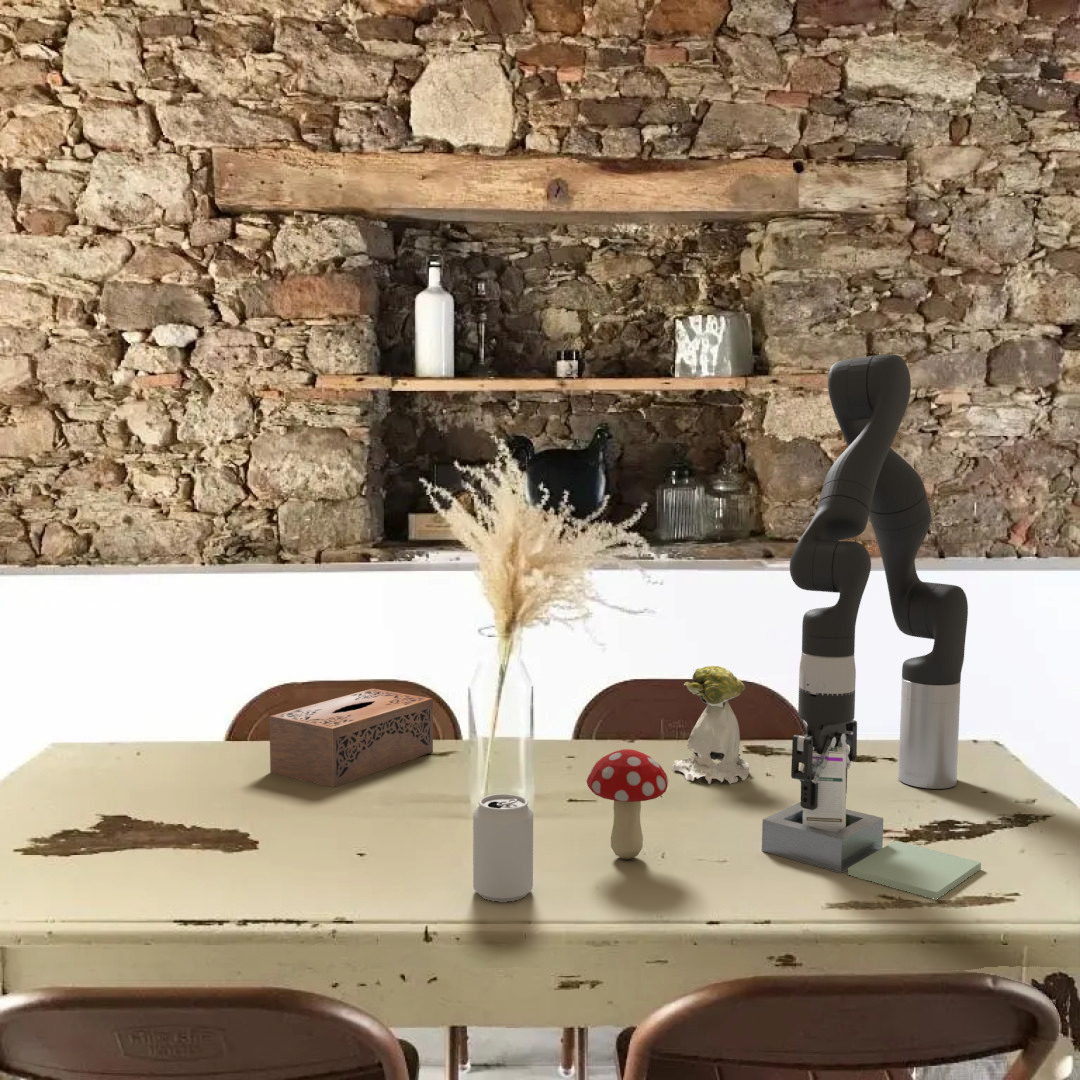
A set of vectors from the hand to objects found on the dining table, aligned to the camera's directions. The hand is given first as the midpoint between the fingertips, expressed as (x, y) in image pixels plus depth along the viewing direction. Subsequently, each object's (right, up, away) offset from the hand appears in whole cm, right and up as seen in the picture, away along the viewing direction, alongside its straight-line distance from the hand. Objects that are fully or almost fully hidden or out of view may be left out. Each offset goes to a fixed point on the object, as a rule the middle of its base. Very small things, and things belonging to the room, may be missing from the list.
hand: (823, 801), depth 161 cm
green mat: (+10, -8, -7) cm, 15 cm away
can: (-44, -8, -15) cm, 47 cm away
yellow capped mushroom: (-10, -4, +37) cm, 38 cm away
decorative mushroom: (-27, -7, -3) cm, 29 cm away
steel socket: (0, -7, +1) cm, 7 cm away
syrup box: (0, -7, +1) cm, 7 cm away
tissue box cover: (-72, -3, +43) cm, 84 cm away
